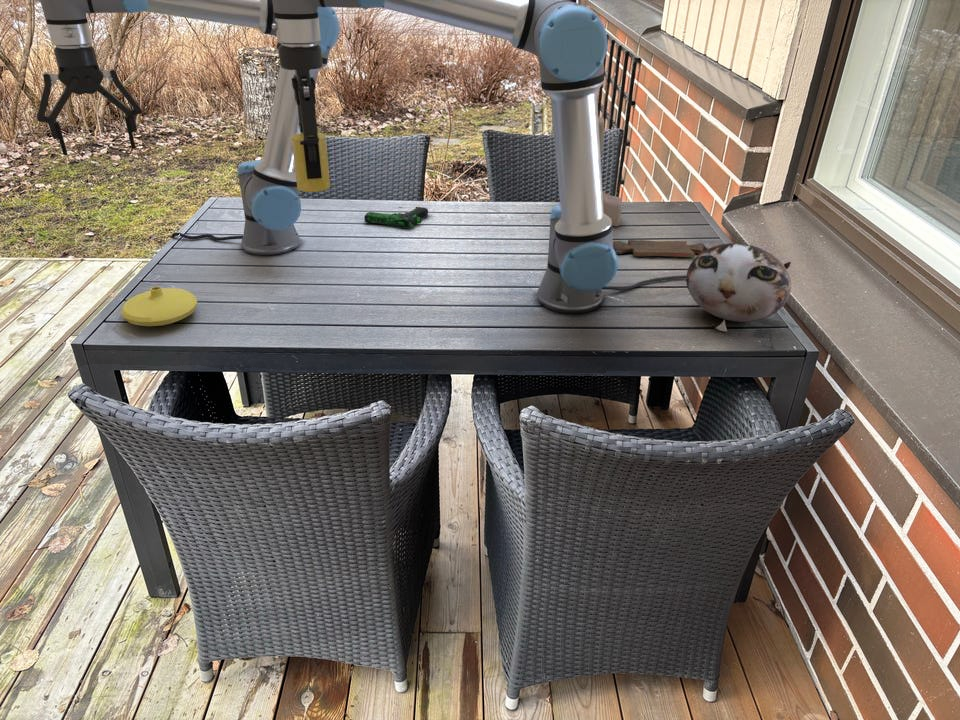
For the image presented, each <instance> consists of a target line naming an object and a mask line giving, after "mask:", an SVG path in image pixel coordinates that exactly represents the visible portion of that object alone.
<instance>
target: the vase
mask: <svg viewBox="0 0 960 720" xmlns="http://www.w3.org/2000/svg"><path fill="white" fill-rule="evenodd" d="M197 303H198V298H197V297H196V295H194V294H193V293H192V292H190V291H189V290H185V289H183V288H175V287H171V288H170V287H168V288H167V287H165V288H162V287H161V286H152V287H150V288H149V290H147V291H144V292H140V293H137V294H136V295H134V296H132V297H130V298H128V299H127V300H126V301H125V302H124V304H123V305H122V307H121V309H120V313H121V316H122V317H123V319H124V320H125V321H126V322H128V323H130V324H132V325H135V326H140V327H141V326H142V327H162V326H167V325H171V324H174V323H177V322H179V321H181V320H183V319H185V318H187V317H189V316H190V315H192V314H193V313H194V312H195V311H196V309H197V306H198V304H197Z"/></svg>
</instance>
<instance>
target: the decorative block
mask: <svg viewBox="0 0 960 720" xmlns="http://www.w3.org/2000/svg"><path fill="white" fill-rule="evenodd" d="M598 122H599V140H600V157H601V158H602V153H603V141H604V131H605V118H604V117H603V116H598ZM602 192H603V210H604V214H605V215H607V216H608V217H609V218H610V219H611V221H612V227H620V226H621V217H622V209H623V203H622V198H621V197H619V196H615V195H611V194H607V193H606V192H604V191H603V190H602Z"/></svg>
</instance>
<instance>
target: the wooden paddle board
mask: <svg viewBox="0 0 960 720" xmlns="http://www.w3.org/2000/svg"><path fill="white" fill-rule="evenodd" d="M687 242H688V241H686V240H646V239H645V240H643V239H640V240H639V239H629V240H627V243H626V242H623V241H621V240H613V249H614V250H615V252H616V254H617V255H623V254H628V253H632V255H633V257H677V258H678V257H679V258H693V257H695V255H696V254H698V255H699V254H700V253H702V252H703V247H704V246H705V245H706V244H705V243H703V242H700V243H694V244H687ZM705 247H706V246H705Z"/></svg>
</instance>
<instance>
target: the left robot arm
mask: <svg viewBox="0 0 960 720" xmlns="http://www.w3.org/2000/svg"><path fill="white" fill-rule="evenodd" d="M39 1H40V5H41V6H40V7H41V9H42V13H43V16H44V19H45V24H46V27H47V32H48V35H49V38H50V42H51V44H52V45H53V46H55V47H54V49H53V53H54V57H55V61H56V64H57V68H58V73H49V72H48V71H45V72H43V76H42V77H43V82H44V85H43V89H42V93H41V98H40V102H39V106H38V110H37V114H36V120H37V122H40V123H46V124H47V125H48V127H49V131H50V134H51V137H52V139H53V140H58V142H59V144H60V148H61V152H62V156H68V149H67V146H66V143H65V140H64V135H63V132H62V128H61V125H60V121H56V120H57V119H58V117H59V115H60V114H61V112H62V110H63V109H64V107H65V105H66V103H67V102H68V100H69V99H70V98H71V96H72V94H75V95H76V96H81V95H85V94H86V95H87V94H88V95H93V94H95V93H96V92H97V93H99V94H100V95H102V96H103V97H104V98H106V99H107V100H108V101H109V102H110V103H112V104H113V105H114V106H115V107H116V108H118V110H120V111H121V112H122V113H123V114H125V115H124V116H123V118H124V122H125V126H126V131H127V134H128V138H129V143H130V146H131V150H135V149H137V148H136V147H137V146H136V143H135V139H134V135H133V134H134V133H137V132H138V127H137V123H136V116H138V115H141V114H142V113H143V110H142V107H141V106H140V105H139V103H138V102H137V101H136V99H134V97H133V96H132V94H131V93H130V92H129V90H127V88H126V87H125V86H124V84H123V83H122V81H121V80H120V79H119V76H118V73H117V71H116V69H115V68H110V69H109V70H103V71H102V70H101V69H100V66H99V62H98V58H97V54H96V50H95V48H94V47H93V46H92V45H91V44H93V36H92V33H91V28H90V25H89V21H88V18H87V14H123V13H124V14H127V13H128V14H134V13H144V12H146V13H153V14H160V15H165V16H174V17H180V18H185V19H186V18H187V19H191V20H200V21H206V22H213V23H219V24H226V25H233V26H240V27H245V28H252V29H257V30H258V32H260V33H261V34H263V35H269V36H273V37H277V33H276V32H277V30H273V29H272V24H277V23H276V21H275V17H274V9H273V1H272V0H39ZM317 12H318V17H319V27H320V38H321V40H320V42H318V45H319V46H320V47H321V52H322V63H323V65H322V67H321V68H318V69H311V70H309V73H310V77H313V79H314V80H315V87H316V85H317V81H318V75H319V72H320V71H321V70H322V69H323V68H325V67H326V66H328V61H329V56H330V51H331V50H332V49H333V47H334V46H335V44H336V43H337V41H338V38H339V34H340V21H339V18H338V15H337V13H336V11H335V10H334V7H318V9H317ZM276 42H277V43H276V48H275V50H276V52H277V54H278V55H279V53H278V47H279V46H280V45H282V44H281V43H279V42H278V41H276ZM294 74H295V70H286V69H283V68H282V67H281V66H280V65H279V70H278V75H277V81H276V86H275V92H274V97H273V102H272V107H271V112H270V118H269V123H268V129H267V134H266V140H265V145H264V149H263V156H262V159H256V160H249V161H245V162H241V163H239V164H238V166H237V178H238V182H239V189H240V194H241V195H240V196H241V201H242V208H243V212H244V213H243V215H244V219H245V220H244V226H243V228H244V229H243V235H230V236H229V235H228V236H222V237H221V236H215V235H213V234H210V233H204V234H199V235H187V234H184V233H181V232H174V233H172V234H171V235H170V237H169V238H170V239H174V238H175V237H181V238H184V239H187V240H199V239H204V238H210V239H212V240H214V241H218V242H219V241H220V242H221V241H222V242H223V241H230V240H241V246H242V249H243V251H244V252H246V253H248V254H252V255H255V256H256V255H257V256H275V255H281V254H282V255H283V254H285V253H289V252H291V251H293V250H296V249H297V248H298V247H299V246H300V244H301V241H300V235H299V233H298V231H297V229H296V227H295V225H294V224H295V223H297V221H298V220H299V218H300V217H301V213H302V202H301V198H300V195H301V190H299V189H298V188H297V181H296V173H295V164H294V156H293V147H292V139H291V136H292V135H294V134H297V133H301V132H300V127H299V115H298V106H297V103H296V100H295V95H294V89H293V86H292V79H291V78H294ZM104 78H106V79H107V80H108V81H110V82H113V84H114V86H115V87H116V88H117V89H118V90H119V92H120V93H121V94H122V95H123V97H124V98H125V100H126V101H127V102H128V103H129V105H131V106H130V107H132V108H129V107H128V106H127V105H126V104H124V103H123V102H122V101H121V100H120V99H119V98H117V97H116V96H115V95H114V94H113V93H112V92H110V91H109V89H107V88H106V87H105V86H103V85H102V82H103V80H104ZM57 81H59V82H61V84H63V85H64V89H63V91H62V93H61V94H60V96H59V97H58V99H57V101H56V103H55V104H54V106H53V108H52V110H51V111H50V113H49V115H46V112H47V107H48V104H49V100H50V95H51V92H52V86H54V85H55V84H56V83H57ZM314 91H316V89H315V90H314ZM179 234H180V236H178V235H179Z"/></svg>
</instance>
